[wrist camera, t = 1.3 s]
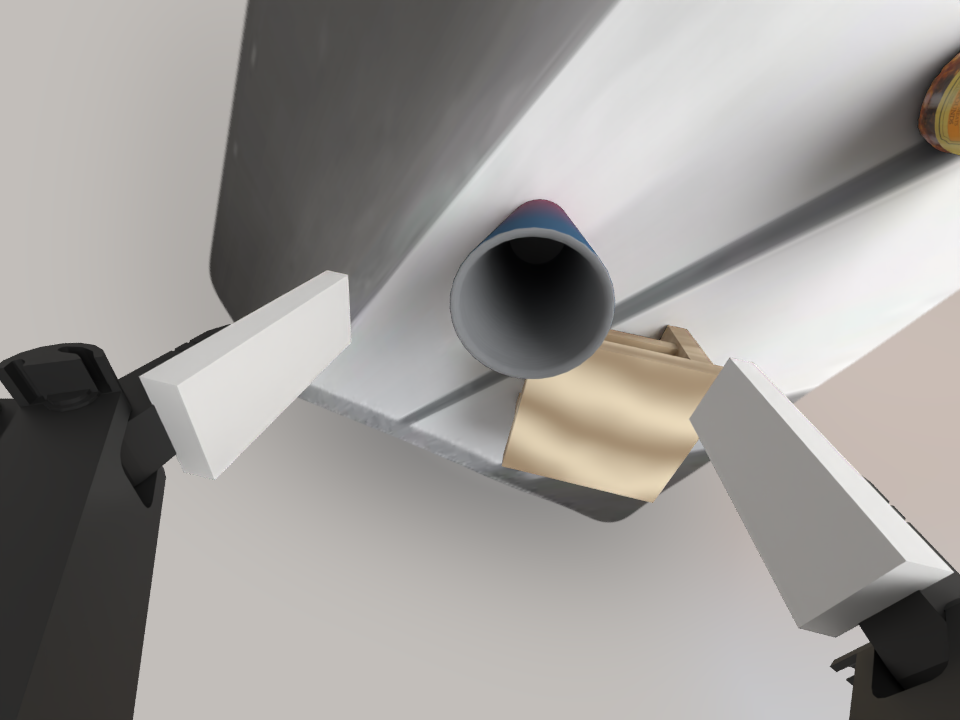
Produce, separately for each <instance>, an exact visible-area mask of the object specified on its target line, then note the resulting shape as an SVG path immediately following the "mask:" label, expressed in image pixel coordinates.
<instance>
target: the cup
mask: <svg viewBox="0 0 960 720" xmlns="http://www.w3.org/2000/svg"><path fill="white" fill-rule="evenodd" d="M614 307H615V297H614V289H613V284H612V281H611V279H610V276H609V274H608V271H607V269H606V268H605V266H604V265H603V263H602V262H601V260H600V259H599V257H598V256H597V254H596V253H595V252H594V250H593V249H592V248H591V246H590V245H589V244H588V242H587V241H586V240H585V238H584V237H583V236H582V234H581V233H580V232H579V230H578V229H577V228H576V226H575V225H574V224H573V222H572V221H571V220H570V218H569V217H568V216H567V214H566V213H565V212H564V210H563V209H562V208H561V207H560V206H558V205H557V204H555V203H553V202H551V201H548V200H541V199H538V200H532V201H529V202H526V203H524V204H523V205H521V206H520V207H518V208H517V209H516V210H515V211H514V212H513V213H512V214H511V215H510V216H509V217H508V218H507V219H506V220H505V221H503V222H502V223H501V224H500V225H499V226H498V227H497V228H496V229H495V230H494V231H493V232H492V233H491V234H490V235H489V236H488V237H487V238H486V239H485V240H484V241H482V242H481V243H480V244H479V245H478V246H477V247H476V248H475V249H474V250H473V251H472V252H471V253H470V254H469V255H468V257H467V258H466V259H465V261H464V262H463V263H462V265H461V266H460V268H459V270H458V272H457V274H456V276H455V278H454V281H453V285H452V289H451V294H450V312H451V318H452V323H453V325H454V328H455V331H456V333H457V336H458V337H459V339H460V340H461V342H462V344H463V345H464V347H465V348H466V349H467V350H468V351H469V352H470V354H471V355H472V356H473V357H474V358H475V359H477V360H478V361H479V362H481V363H482V364H483V365H485V366H486V367H488V368H490V369H492V370H494V371H496V372H498V373H501V374H504V375H507V376H510V377H515V378H521V379H543V378H549V377H554V376H557V375H560V374H563V373H566V372H568V371H570V370H572V369H574V368H576V367H578V366H579V365H581V364H582V363H583V362H585V361H586V360H587V359H588V358H590V357H591V356H592V355H593V354H594V353H595V351H596V350H597V349H598V348H599V347H600V346H601V344H602V343H603V341H604V339H605V337H606V336H607V334H608V332H609V330H610V327H611V323H612V320H613V317H614Z"/></svg>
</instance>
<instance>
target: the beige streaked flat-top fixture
mask: <svg viewBox="0 0 960 720" xmlns="http://www.w3.org/2000/svg"><path fill="white" fill-rule="evenodd" d="M722 368H723V367H722V366H718V365H713V363H712V362H711V361H710V359H709V358H708V357H707V355H706V354H705V353H704V351H703V350H702V349H701V347H700V346H699V345H698V343H697V342H696V341H695V339H694V338H693V337H692V335H691V334H690V333H689V331H688V330H687V329H684V328H679V327H674V326H670V325H668V326H667V328H666V330H665V331H664V333H663V335H662V337H661V339H660V340H656V339H652V338H647V337H643V336H638V335H634V334H629V333H624V332H620V331H615V330H611V329H610V330H609V332H608V334H607V336H606V337H605V339H604V341H603V343H602V344H601V346H600V347H599V348H598V349H597V350H596V351H595V353H594V354H593V355H592V356H591V357H590V358H588V359H587V360H586V361H585V362H583V363H582V364H581V365H579V366H578V367H576V368H574V369H572V370H570V371H568V372H566V373H563V374H560V375H557V376H554V377H549V378H543V379H525V382H524V385H523V388H522V392H521V393H519V395H518V399H517V402H516V408H515V416H514V420H513V423H512V426H511V430H510V433H509V437H508V440H507V444H506V447H505V451H504V454H503V461H502V466H504V467H508V468H512V469H516V470H520V471H524V472H528V473H533V474H537V475H541V476H545V477H549V478H553V479H557V480H561V481H565V482H569V483H574V484H578V485H582V486H586V487H590V488H594V489H598V490H602V491H606V492H611V493H615V494H619V495H623V496H627V497H631V498H635V499H639V500H643V501H648V502H652V503H653V502H654V501H655V499H656V498H657V496H658V495H659V494H660V492H661V491H662V490H663V488H664V487H665V485H666V484H667V483H668V481H669V480H670V478H671V477H672V476H673V474H674V473H675V471H676V470H677V469H678V467H679V466H680V465H681V463H682V462H683V460H684V459H685V458H686V456H687V455H688V453H689V452H690V451H691V449H692V448H693V446H694V445H695V444H696V442H697V441H698V440H699V437H698V435H697V433H696V432H695V430H694V428H693V426H692V424H691V422H690V420H689V418H690V417H691V415H692V414H693V412H694V411H695V409H696V408H697V406H698V405H699V403H700V402H701V400H702V399H703V397H704V396H705V394H706V393H707V391H708V390H709V388H710V387H711V385H712V384H713V382H714V381H715V379H716V378H717V376H718V374H719V373H720V371H721V370H722Z"/></svg>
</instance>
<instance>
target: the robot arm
mask: <svg viewBox="0 0 960 720" xmlns="http://www.w3.org/2000/svg"><path fill="white" fill-rule="evenodd" d="M350 343H351V324H350V304H349V284H348V275H347V274H342V273H337V272H333V271H328V270H327V271H325V272H323V273H321V274H320V275H318V276H316V277H314V278H313V279H311V280H309V281H307V282H305V283H304V284H302V285H300V286H298V287H297V288H295V289H293V290H291V291H290V292H288V293H286V294H284V295H282V296H281V297H279V298H277V299H275V300H274V301H272V302H270V303H268V304H267V305H265V306H263V307H261V308H259V309H258V310H256V311H254V312H252V313H251V314H249V315H247V316H245V317H244V318H242V319H240V320H238V321H236V322H235V323H233V324H229V325H225V326H222V327H219V328H215V329H212V330H209V331H206V332H204V333H203V334H201V335H199V336H197V337H195V338H194V339H192V340H190V342H189V343H184V344H182V345H181V346H179V347H177V348H175V351H170V352H168V353H166V354H164V355H162V356H160V357H159V358H157V359H155V360H153V361H151V362H149V363H148V364H146V365H144V366H142V367H140V368H138V369H137V370H135V371H133V372H131V373H129V374H127V375H126V376H124V377H122V378H120V379H117V377H116V375H115V373H114V371H113V369H112V367H111V365H110V363H109V361H108V359H107V357H106V355H105V353H104V351H103V350H102V349H100V348H99V347H97V346H95V345H91V344H84V343H65V344H64V343H63V344H57V345H50V346H44V347H39V348H36V349H32V350H29V351H25V352H22V353H19V354H17V355H15V356H12V357H10V358H8V359H6V360H3V361H2V362H1V363H0V381H1V382H2V383H3V385H4V386H5V388H6V389H7V390H8V392H9V393H10V394H11V396H12V397H13V398H14V399H0V720H133V713H134V706H135V699H136V691H137V685H138V677H139V670H140V663H141V656H142V647H143V641H144V634H145V626H146V619H147V612H148V604H149V597H150V590H151V582H152V575H153V568H154V560H155V553H156V546H157V538H158V531H159V523H160V516H161V509H162V502H163V495H164V487H165V480H166V476H165V471H164V468H163V467H162V465H164V464H165V463H166V462H167V461H169V460H170V459H171V458H172V457H173V456H175V455H176V456H177V459H178V461H179V463H180V465H181V467H182V469H183V472H185V473H189V474H193V475H197V476H201V477H205V478H209V479H212V480H215V479H216V478H217V477H218V476H219V475H220V474H221V473H222V472H223V471H224V470H225V469H226V468H227V467H228V466H229V465H230V464H231V463H232V462H233V461H234V460H235V459H236V458H237V457H238V456H239V455H240V454H241V453H242V452H243V451H244V450H245V449H246V448H247V447H248V446H249V445H250V444H251V443H252V442H253V441H254V440H255V439H256V438H257V437H258V436H259V435H260V434H261V433H262V432H263V431H264V430H265V429H266V428H267V427H268V426H269V425H270V424H271V423H272V422H273V421H274V420H275V419H276V418H277V417H278V416H279V415H280V414H281V413H282V412H283V411H284V410H285V409H286V408H287V407H288V406H289V405H290V404H291V403H292V402H293V401H294V400H295V399H296V398H297V397H298V396H299V395H300V394H301V393H302V392H303V391H304V390H305V389H306V388H307V387H308V386H309V385H310V384H311V383H312V382H313V381H314V380H315V379H316V378H317V377H318V376H319V375H320V374H321V373H322V372H323V371H324V370H325V369H326V368H327V367H328V366H329V365H330V364H331V363H332V362H333V361H334V360H335V359H336V358H337V357H338V356H339V355H340V354H341V353H342V352H343V351H344V350H345V349H346V347H347V346H348V345H349V344H350ZM689 420H690V422H691V424H692V426H693V428H694V430H695V432H696V433H697V435H698V437H699V439H700V441H701V443H702V445H703V447H704V449H705V451H706V453H707V454H708V456H709V458H710V460H711V462H712V464H713V466H714V468H715V470H716V472H717V473H718V475H719V477H720V479H721V481H722V483H723V485H724V487H725V489H726V491H727V493H728V495H729V496H730V498H731V500H732V502H733V504H734V506H735V508H736V510H737V512H738V514H739V516H740V517H741V519H742V521H743V523H744V525H745V527H746V529H747V531H748V533H749V535H750V537H751V538H752V540H753V542H754V544H755V546H756V548H757V550H758V552H759V554H760V556H761V557H762V559H763V561H764V563H765V565H766V567H767V569H768V571H769V573H770V575H771V577H772V578H773V580H774V582H775V584H776V586H777V588H778V590H779V592H780V594H781V596H782V598H783V600H784V602H785V603H786V605H787V607H788V609H789V611H790V613H791V615H792V617H793V619H794V621H795V622H796V624H797V626H798V628H800V629H804V630H808V631H812V632H816V633H820V634H824V635H828V636H832V637H838V636H840V635H841V634H843V633H844V632H847V631H848V630H850V629H852V628H854V627H856V626H857V625H860V627H861V629H862V630H863V632H864V633H865V635H866V636H867V638H868V639H869V641H870V642H869V643H867V644H865V645H864V646H861V647H859V648H857V649H856V650H853V651H851V652H850V653H847V654H846V655H843V656H842V657H839V658H838V659H835V660H834V661H833V663H832V664H831V666H830V667H831V668H832V669H834V670H835V671H836V672H838V671H839V670H842V669H844V668H846V667H852V668H855V675H854V676H852V677H850V678H847V679H846V680H847V681H848V682H849V683H850V684H852V685H853V691H852V700H851V709H850V717H849V720H960V574H959V573H958V572H957V571H956V570H955V569H954V568H953V567H952V566H951V565H950V564H949V563H948V562H947V561H946V560H945V559H944V558H943V557H942V556H941V555H940V554H939V553H938V551H937V550H936V549H935V548H934V547H933V546H932V545H931V544H930V543H929V542H928V541H927V540H926V539H925V538H924V537H923V536H922V535H921V534H920V533H919V532H918V531H917V530H916V529H915V528H914V527H913V526H912V525H911V523H909V522H906V521H905V517H904V516H903V515H902V514H901V513H900V512H899V511H898V510H897V509H896V508H895V507H894V506H892V505H889V501H888V500H887V499H886V498H885V497H884V496H883V494H881V493H880V491H879V490H878V489H876V487H875V486H874V485H873V484H872V483H871V482H870V481H868V480H867V479H866V478H864V477H863V476H862V475H860V474H859V473H858V472H857V470H856V469H855V468H854V467H853V466H852V465H851V464H850V463H849V462H848V461H847V460H846V459H845V458H844V457H843V456H842V455H841V454H840V453H839V452H838V450H837V449H836V448H835V447H834V446H833V445H832V444H831V443H830V442H829V441H828V440H827V439H826V438H825V437H824V436H823V435H822V434H821V433H820V432H819V431H818V430H817V429H816V428H815V427H814V426H813V425H812V423H811V422H810V421H809V420H808V419H807V418H806V417H805V416H804V415H803V414H802V413H801V412H800V411H799V410H798V409H797V408H796V407H795V406H794V405H793V404H792V402H791V401H790V400H789V399H788V398H787V397H786V396H785V395H784V394H783V393H782V392H781V391H780V390H779V389H778V388H777V387H776V386H775V385H774V384H773V383H772V382H771V381H770V379H769V378H768V377H767V376H766V375H765V374H764V373H763V372H762V371H761V370H760V369H759V368H758V367H757V366H756V365H755V364H754V363H753V362H748V361H743V360H739V359H734V358H729V359H728V361H727V362H726V364H725V365H724V367H723V368H722V370H721V371H720V373H719V374H718V376H717V378H716V379H715V381H714V382H713V384H712V385H711V387H710V388H709V390H708V391H707V393H706V394H705V396H704V397H703V399H702V400H701V402H700V403H699V405H698V406H697V408H696V409H695V411H694V412H693V414H692V415H691V417H690V418H689Z"/></svg>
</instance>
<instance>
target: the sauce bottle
mask: <svg viewBox="0 0 960 720" xmlns="http://www.w3.org/2000/svg"><path fill="white" fill-rule="evenodd" d="M918 129H919V132H920V135H922V136H923V137H924V138H925V139H926V141H927V142H928V143H930V144H931V145H932V146H933V147H934V148H935V149H938V150H940V151H942V152H947V153H953V154H957V155H960V52H959V53H958V54H957V55H956V56H955V57H954V58H953V59H952V60H951V61H950V62H949V63H948V64H946V65H945V66H944V67H943V68H942V70H941V73H940V74H939V75H938V76H937V77H936V78H935V79H934V80H933V81H932V84H931V86H930V88H929V89H928V91H927V93H926V96H925V98H924V101H923V103H922V108H921V110H920V117H919V119H918Z"/></svg>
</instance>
